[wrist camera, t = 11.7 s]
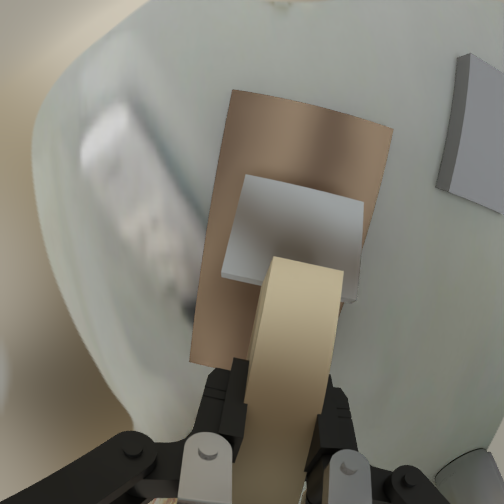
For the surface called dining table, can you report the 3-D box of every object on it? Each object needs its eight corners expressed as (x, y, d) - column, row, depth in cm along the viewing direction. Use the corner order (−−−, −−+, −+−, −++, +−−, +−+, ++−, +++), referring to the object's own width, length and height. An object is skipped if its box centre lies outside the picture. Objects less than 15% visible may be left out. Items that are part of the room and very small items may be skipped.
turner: (244, 182, 16) (249, 130, 12) (358, 209, 16) (390, 166, 12) (179, 469, 11) (161, 506, 7) (313, 489, 11) (341, 526, 7)
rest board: (389, 129, 17) (393, 128, 17) (310, 378, 24) (310, 385, 24) (234, 91, 17) (232, 89, 17) (191, 355, 24) (189, 361, 24)
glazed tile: (498, 212, 19) (518, 97, 15) (515, 219, 16) (535, 96, 13) (433, 186, 19) (454, 59, 15) (448, 191, 16) (470, 52, 13)
